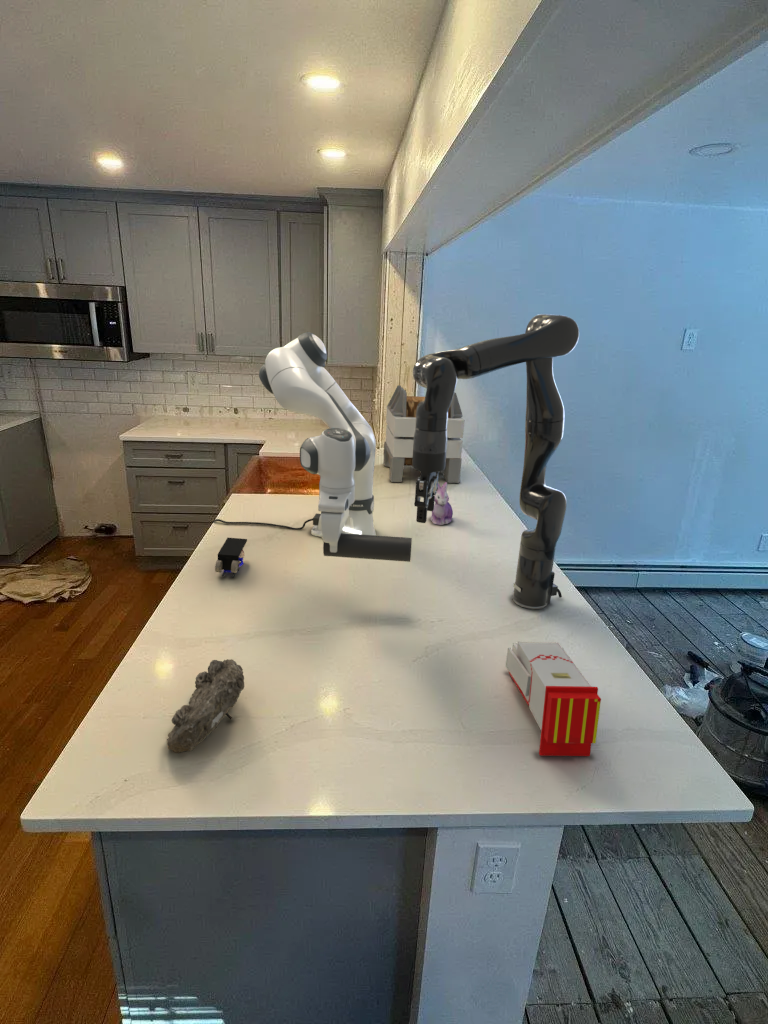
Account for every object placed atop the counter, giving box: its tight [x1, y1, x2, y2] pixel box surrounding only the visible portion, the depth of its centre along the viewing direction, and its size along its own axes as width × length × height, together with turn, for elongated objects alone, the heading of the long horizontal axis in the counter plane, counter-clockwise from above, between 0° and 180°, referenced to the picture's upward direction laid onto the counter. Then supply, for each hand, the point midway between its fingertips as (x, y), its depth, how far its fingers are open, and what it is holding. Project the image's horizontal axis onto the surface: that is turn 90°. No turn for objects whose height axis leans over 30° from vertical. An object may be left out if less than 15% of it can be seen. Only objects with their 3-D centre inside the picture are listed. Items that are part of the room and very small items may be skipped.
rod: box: [322, 533, 413, 563], centre depth 146 cm, size 22×6×6 cm, turn 85°
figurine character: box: [214, 537, 248, 578], centre depth 166 cm, size 7×8×15 cm
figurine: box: [430, 481, 454, 526], centre depth 211 cm, size 9×10×15 cm
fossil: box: [166, 658, 245, 754], centre depth 106 cm, size 22×10×15 cm
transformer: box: [383, 384, 465, 484], centre depth 268 cm, size 34×33×41 cm
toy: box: [505, 641, 602, 757], centre depth 113 cm, size 12×13×30 cm
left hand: (336, 545), depth 146 cm, fingers closed on rod, 6 cm apart
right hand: (425, 516), depth 132 cm, fingers open, 8 cm apart
